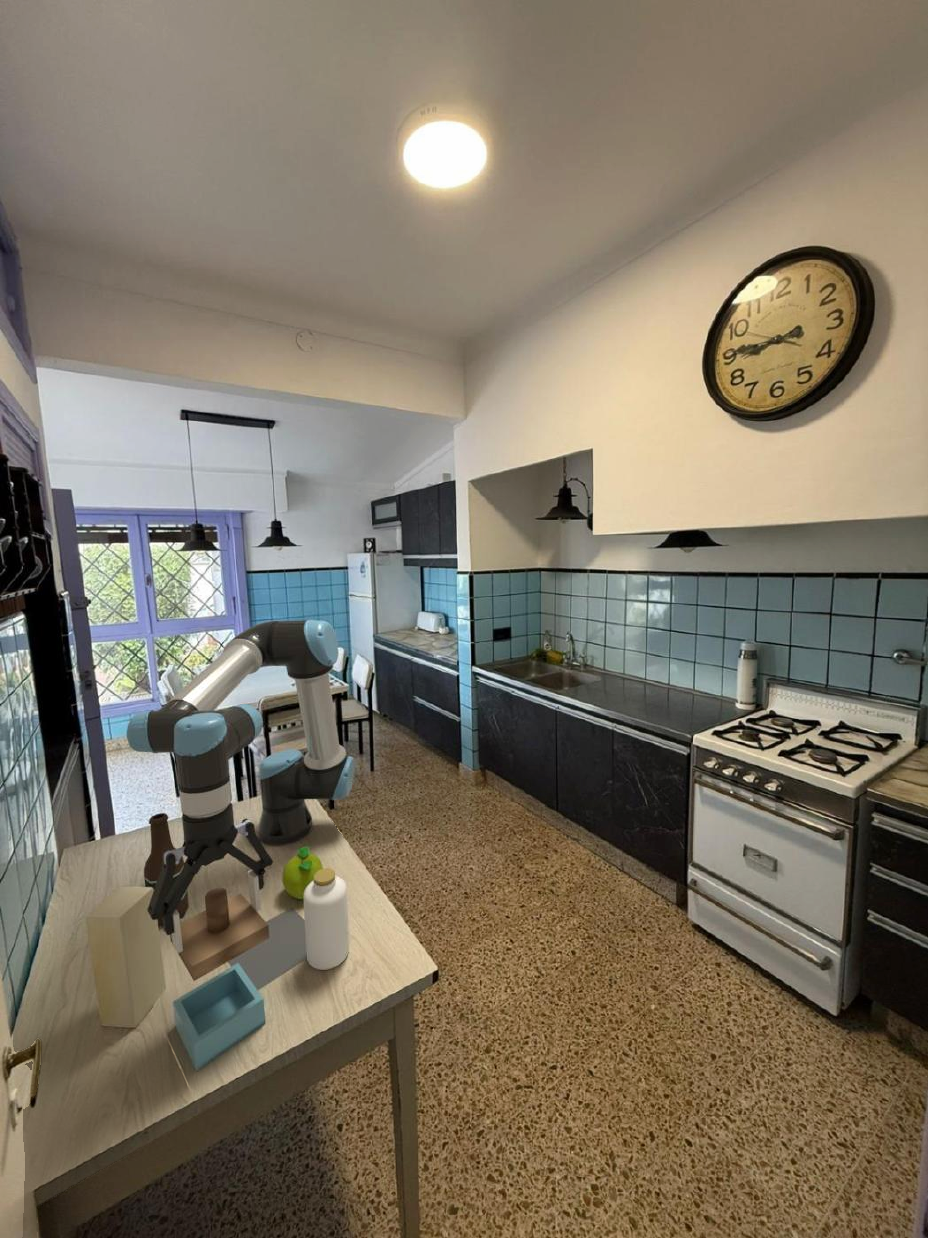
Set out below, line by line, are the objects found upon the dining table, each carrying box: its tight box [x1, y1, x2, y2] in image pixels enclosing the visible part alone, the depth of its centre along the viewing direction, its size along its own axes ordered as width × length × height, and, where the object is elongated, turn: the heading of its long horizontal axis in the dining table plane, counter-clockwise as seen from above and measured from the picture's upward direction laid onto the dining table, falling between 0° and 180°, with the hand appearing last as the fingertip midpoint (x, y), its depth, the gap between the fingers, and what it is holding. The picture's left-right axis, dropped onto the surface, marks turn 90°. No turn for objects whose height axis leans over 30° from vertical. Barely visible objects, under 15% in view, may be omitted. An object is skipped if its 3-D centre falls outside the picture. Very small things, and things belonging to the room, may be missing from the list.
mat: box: [227, 907, 307, 991], centre depth 102 cm, size 16×16×1 cm
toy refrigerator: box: [85, 885, 167, 1029], centre depth 88 cm, size 8×7×21 cm
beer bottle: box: [143, 812, 190, 928], centre depth 111 cm, size 8×8×24 cm
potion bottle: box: [303, 867, 350, 971], centre depth 98 cm, size 8×8×18 cm
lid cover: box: [169, 886, 269, 982], centre depth 85 cm, size 12×12×8 cm
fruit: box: [281, 846, 324, 900], centre depth 118 cm, size 9×9×10 cm
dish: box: [172, 963, 267, 1072], centre depth 85 cm, size 11×11×5 cm
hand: (218, 926), depth 85 cm, fingers closed on lid cover, 12 cm apart
